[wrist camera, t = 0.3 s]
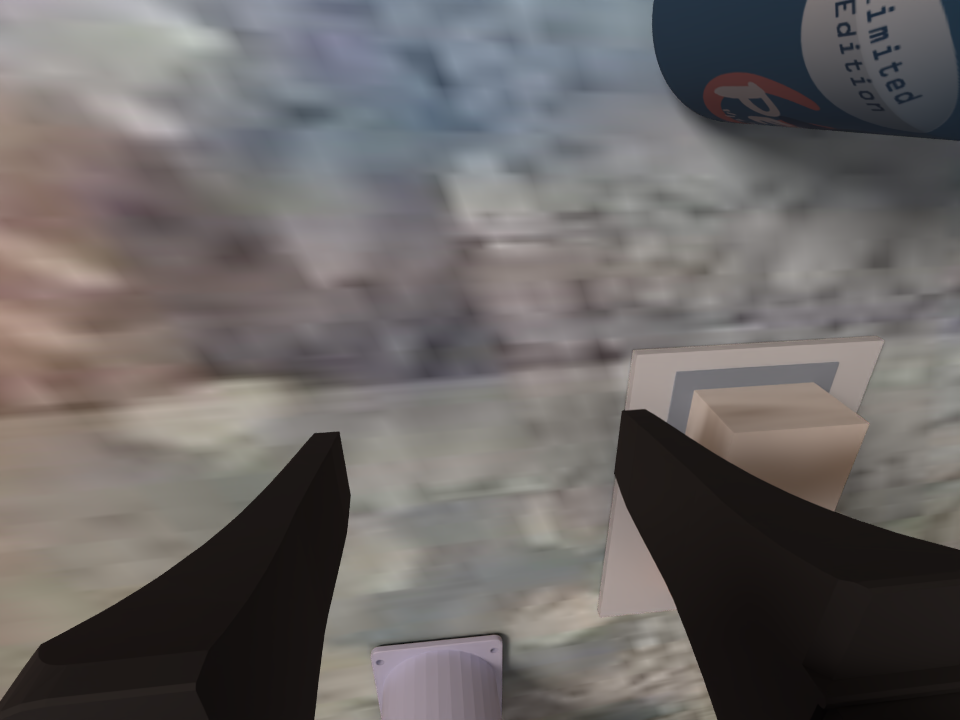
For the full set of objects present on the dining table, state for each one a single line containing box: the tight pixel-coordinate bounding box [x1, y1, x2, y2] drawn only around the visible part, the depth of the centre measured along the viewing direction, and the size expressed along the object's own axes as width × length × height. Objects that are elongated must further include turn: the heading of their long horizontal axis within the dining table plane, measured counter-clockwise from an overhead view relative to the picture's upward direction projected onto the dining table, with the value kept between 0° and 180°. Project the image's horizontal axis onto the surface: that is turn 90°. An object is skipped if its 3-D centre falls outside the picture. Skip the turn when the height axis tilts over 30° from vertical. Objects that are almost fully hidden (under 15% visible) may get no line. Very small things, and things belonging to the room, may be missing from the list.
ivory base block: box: [685, 382, 870, 511], centre depth 24 cm, size 6×6×4 cm
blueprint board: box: [597, 336, 884, 617], centre depth 28 cm, size 18×12×1 cm, turn 1°
